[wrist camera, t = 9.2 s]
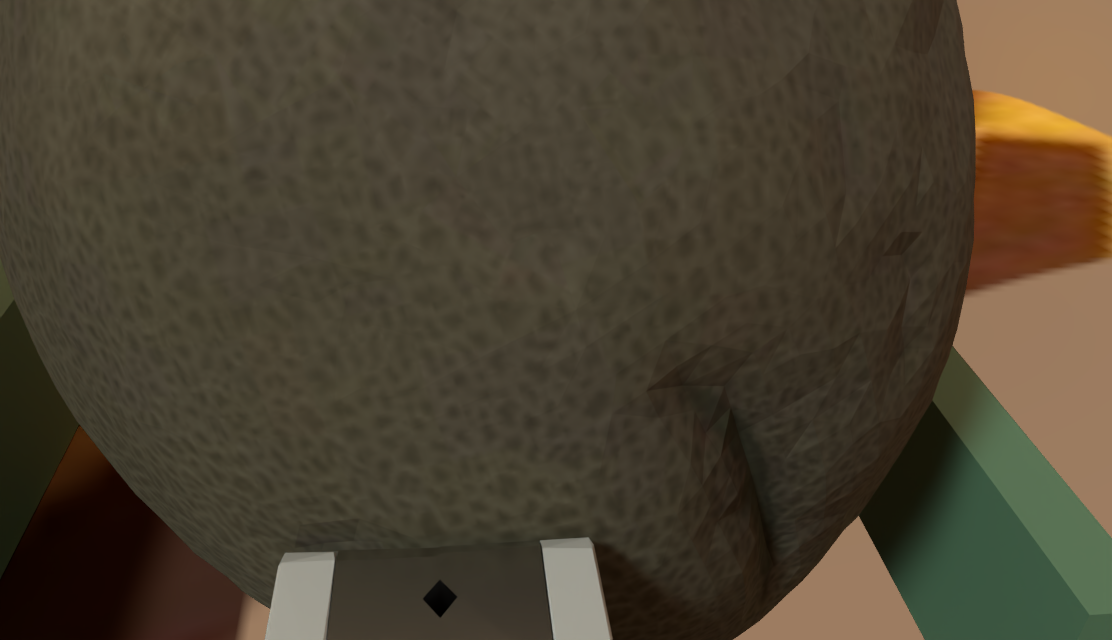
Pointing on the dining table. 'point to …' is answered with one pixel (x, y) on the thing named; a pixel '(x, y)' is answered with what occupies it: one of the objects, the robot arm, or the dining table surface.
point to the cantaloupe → (496, 272)
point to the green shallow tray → (889, 517)
